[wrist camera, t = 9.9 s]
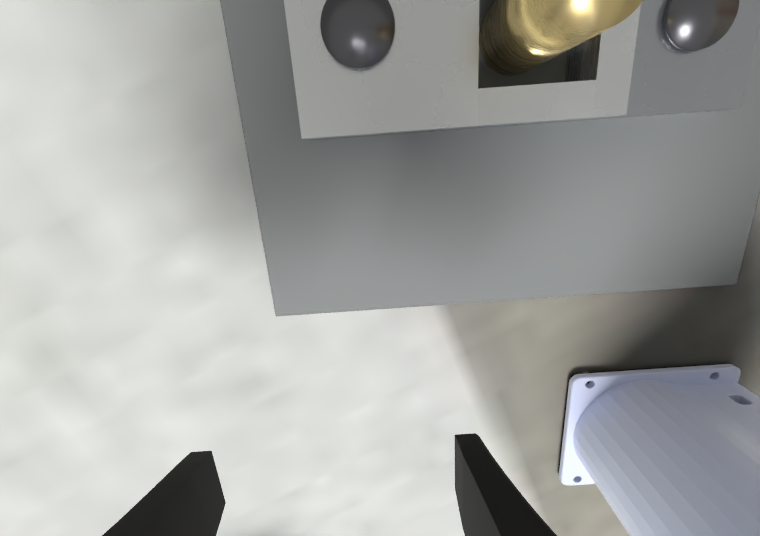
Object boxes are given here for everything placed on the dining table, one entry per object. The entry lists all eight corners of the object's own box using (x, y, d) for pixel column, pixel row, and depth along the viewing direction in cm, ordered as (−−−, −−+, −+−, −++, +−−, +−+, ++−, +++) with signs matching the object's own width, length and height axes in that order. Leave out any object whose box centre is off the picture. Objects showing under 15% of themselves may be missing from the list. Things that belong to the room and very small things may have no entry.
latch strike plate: (754, -87, 14) (841, -141, 11) (713, 111, 16) (779, 103, 13) (288, -50, 14) (269, -96, 11) (312, 140, 16) (300, 138, 14)
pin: (553, -11, 14) (670, -116, 9) (548, 72, 15) (650, 26, 10) (479, -4, 14) (546, -104, 9) (478, 78, 15) (539, 36, 10)
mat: (837, -168, 13) (854, -180, 13) (727, 281, 19) (736, 284, 19) (204, -117, 14) (197, -127, 13) (278, 312, 19) (275, 316, 19)
